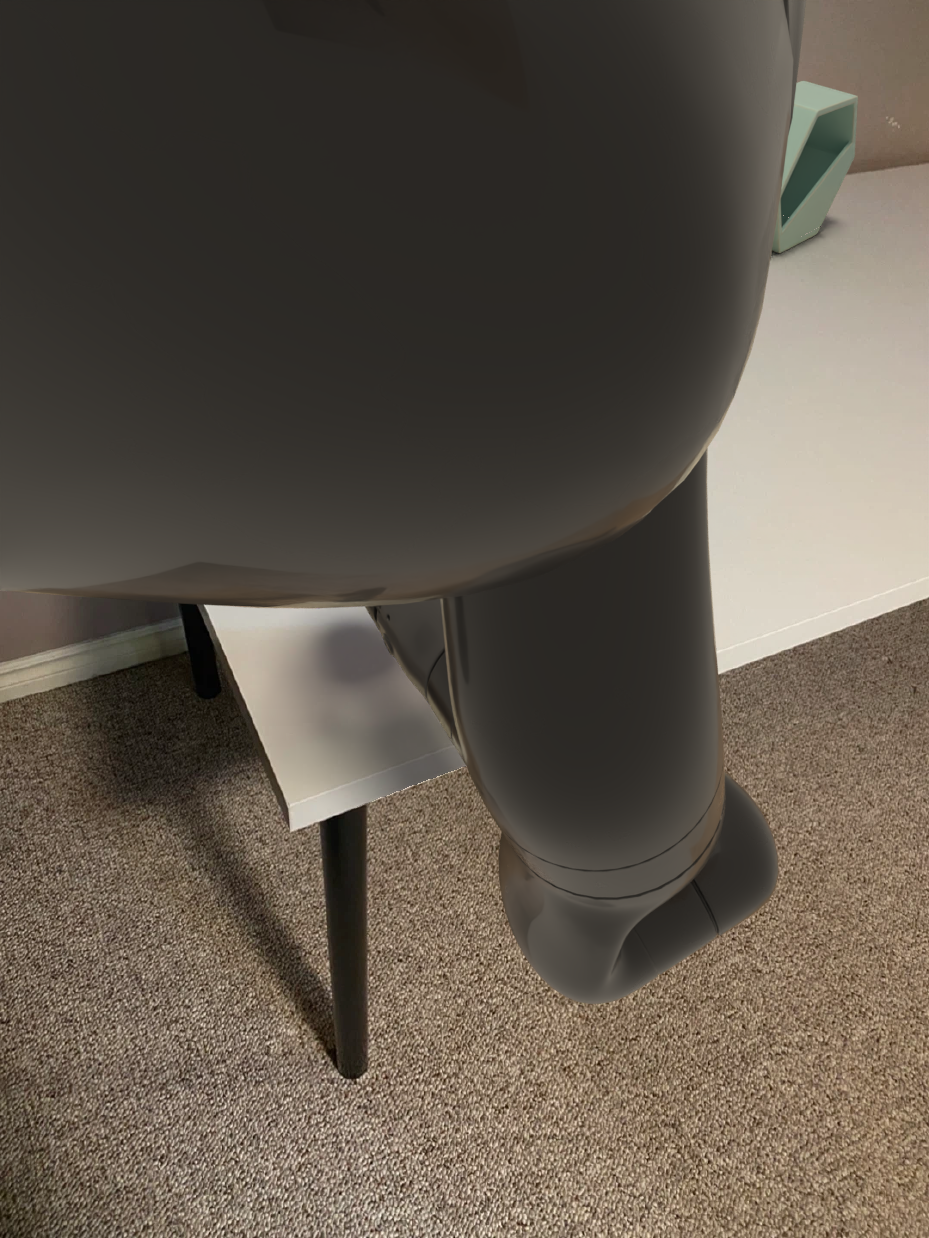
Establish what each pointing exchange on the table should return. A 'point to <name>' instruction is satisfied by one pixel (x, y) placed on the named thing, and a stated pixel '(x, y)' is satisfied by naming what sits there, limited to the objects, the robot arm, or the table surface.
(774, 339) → the table surface
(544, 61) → the robot arm
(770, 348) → the table surface
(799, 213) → the green magazine holder
